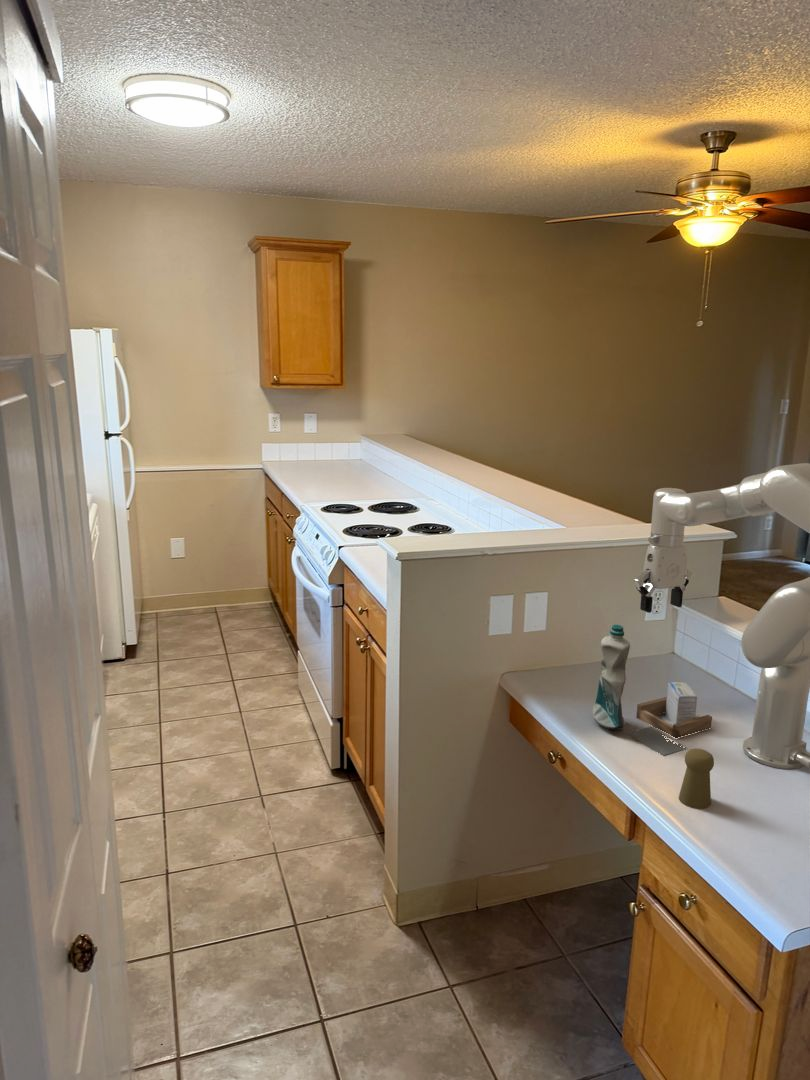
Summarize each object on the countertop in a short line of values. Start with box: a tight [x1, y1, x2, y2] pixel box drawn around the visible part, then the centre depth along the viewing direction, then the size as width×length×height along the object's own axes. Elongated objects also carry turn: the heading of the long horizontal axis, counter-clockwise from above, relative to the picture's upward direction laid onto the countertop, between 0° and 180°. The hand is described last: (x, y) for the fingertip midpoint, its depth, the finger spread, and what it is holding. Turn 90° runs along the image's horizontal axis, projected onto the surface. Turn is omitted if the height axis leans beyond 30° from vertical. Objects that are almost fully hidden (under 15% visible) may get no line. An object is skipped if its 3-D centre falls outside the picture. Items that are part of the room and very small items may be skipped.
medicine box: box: [664, 681, 698, 725], centre depth 177 cm, size 8×4×9 cm, turn 179°
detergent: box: [591, 624, 631, 730], centre depth 173 cm, size 13×7×25 cm, turn 5°
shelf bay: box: [636, 696, 713, 738], centre depth 177 cm, size 12×11×4 cm
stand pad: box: [627, 726, 687, 757], centre depth 168 cm, size 11×7×1 cm, turn 27°
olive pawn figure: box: [678, 748, 715, 810], centre depth 144 cm, size 6×6×11 cm
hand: (661, 608), depth 184 cm, fingers open, 9 cm apart
